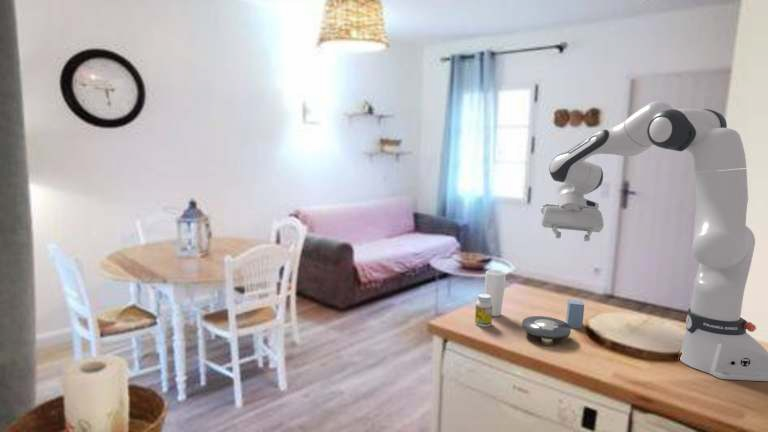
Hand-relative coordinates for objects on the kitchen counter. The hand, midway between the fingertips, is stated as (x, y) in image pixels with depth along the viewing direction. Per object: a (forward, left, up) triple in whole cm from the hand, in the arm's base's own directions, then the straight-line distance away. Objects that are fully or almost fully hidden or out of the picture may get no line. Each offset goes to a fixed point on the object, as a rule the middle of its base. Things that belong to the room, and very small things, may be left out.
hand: (572, 238), depth 159 cm
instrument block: (-1, +12, -27) cm, 29 cm away
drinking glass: (+25, +10, -27) cm, 38 cm away
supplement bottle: (+28, +20, -27) cm, 44 cm away
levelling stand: (+9, +25, -27) cm, 38 cm away
